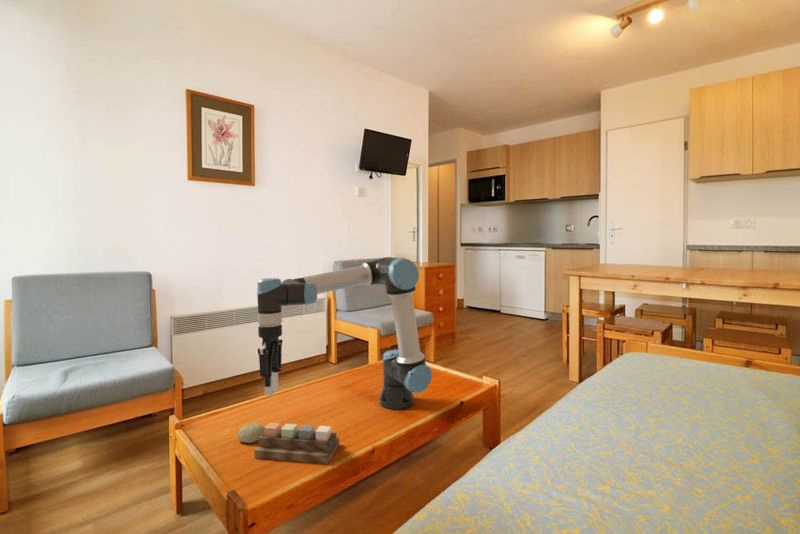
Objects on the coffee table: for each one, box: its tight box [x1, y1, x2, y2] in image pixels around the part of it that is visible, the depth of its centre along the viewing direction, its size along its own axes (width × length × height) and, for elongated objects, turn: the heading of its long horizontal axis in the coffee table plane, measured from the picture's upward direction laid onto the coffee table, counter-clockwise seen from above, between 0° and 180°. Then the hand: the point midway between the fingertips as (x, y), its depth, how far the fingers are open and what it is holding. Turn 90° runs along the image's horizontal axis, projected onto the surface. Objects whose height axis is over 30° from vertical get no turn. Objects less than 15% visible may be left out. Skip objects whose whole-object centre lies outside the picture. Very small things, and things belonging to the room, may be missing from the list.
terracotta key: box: [264, 422, 282, 438], centre depth 133 cm, size 4×4×4 cm
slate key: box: [297, 424, 315, 440], centre depth 132 cm, size 4×4×4 cm
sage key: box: [281, 423, 298, 439], centre depth 133 cm, size 4×4×4 cm
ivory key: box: [315, 425, 332, 441], centre depth 131 cm, size 4×4×4 cm
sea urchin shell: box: [237, 422, 265, 444], centre depth 141 cm, size 9×8×8 cm
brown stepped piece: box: [253, 429, 340, 465], centre depth 132 cm, size 25×12×6 cm, turn 82°
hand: (271, 393), depth 133 cm, fingers open, 3 cm apart
